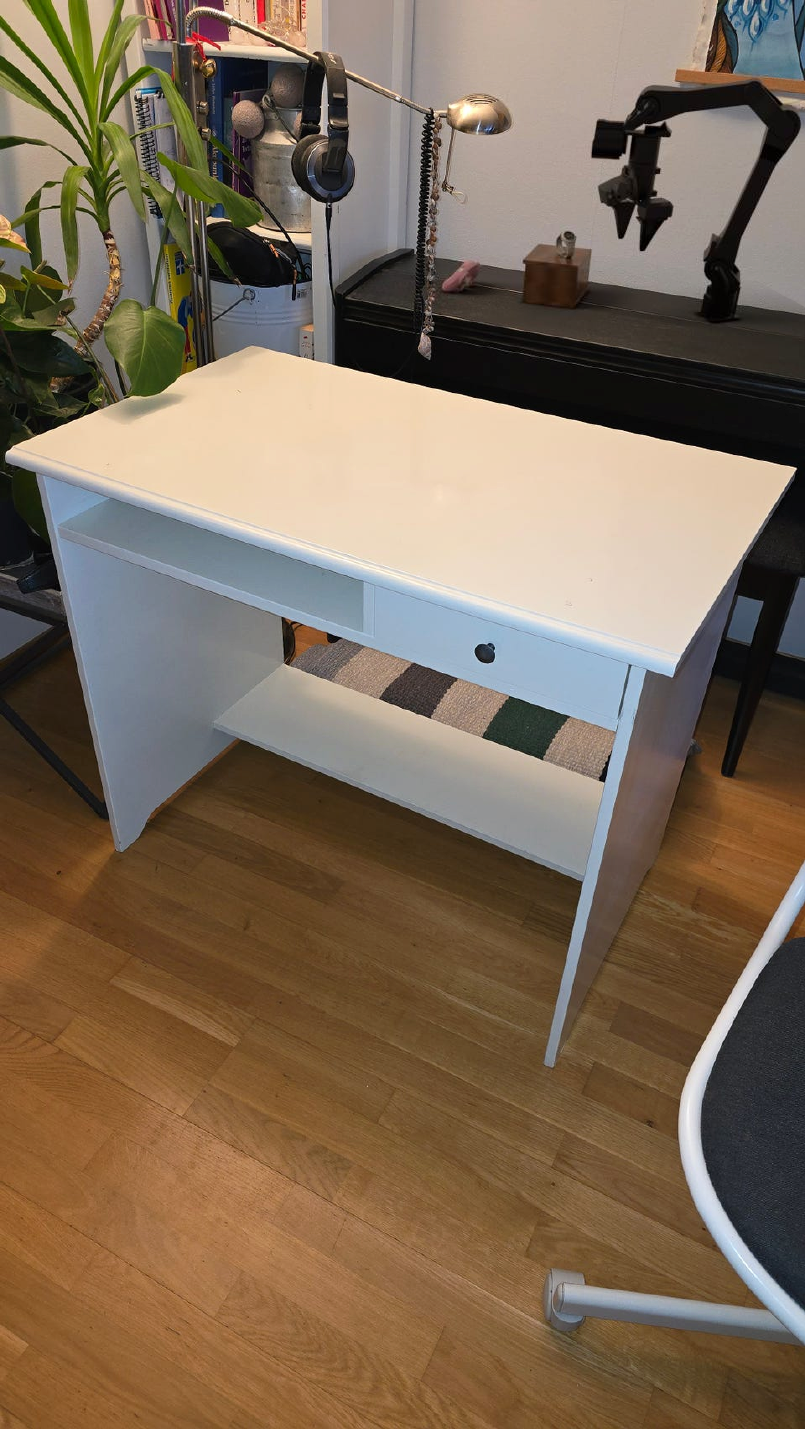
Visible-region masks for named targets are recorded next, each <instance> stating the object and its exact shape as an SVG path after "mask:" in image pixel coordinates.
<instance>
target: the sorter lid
mask: <svg viewBox="0 0 805 1429" xmlns="http://www.w3.org/2000/svg"><path fill="white" fill-rule="evenodd" d="M562 246H563V249H564V250H565V251H566V252H567V251H568V250H567V246H566V245H562ZM592 252H593V249H591V248H582V247H575V249H574V254H573V256H572V257H570V258H564V257H562V256H560V255H559V254H558V252H557V249H556V244H555V245H553V244H546V243H545V244H544V243H537V244H536V245H535V247H534V248H533V249H532V250H530V252H529V253H528V254H527V255H526V256H525V257H524V258H523V259H522V264H523V265H525V264H531V265H540V266H549V267H558V268H567V269H576V270H578V269H579V268H580V266H581V265H582V264H583V263H584V262H585V260H586V259H587V258H588V257H589V255H590V254H591V255H592Z"/></svg>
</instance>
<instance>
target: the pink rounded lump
mask: <svg viewBox="0 0 805 1429" xmlns="http://www.w3.org/2000/svg"><path fill="white" fill-rule="evenodd" d="M482 270H483V265H482V264H480V263H479V262H478V261H475V260H474V259H473V260H470V261H469V260H468V261H465V262H463V263H462V264H461V266H460V267H459V268H457V270H456V271H455V272H454V273H453V274H452V275H451V276H450V277H449V278H447V279H446V280H444V282H443V283H442V287H441V288H442V291H444V292H446V293H449V292H453V291H455V290H456V289H458V290H459V291H463V290H464V289H465V288H466V287H467V288H468V287H470V286H471V285H473V282H474V280H476V278H478V276H479V275H480V274H481V271H482Z"/></svg>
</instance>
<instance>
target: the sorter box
mask: <svg viewBox="0 0 805 1429" xmlns="http://www.w3.org/2000/svg"><path fill="white" fill-rule="evenodd" d="M591 260H592V253H591V254H590V255H589V257H588V258H587V259H586V260H585V262H584V263H583V264H582V265H581V266H580V268H579V269H578V270H576V269H567V268H558V267H549V266H540V265H531V264H524V275H523V276H524V277H523V288H522V290H523V291H522V303H526V304H527V303H528V304H535V305H543V306H544V305H545V306H552V307H560V308H567V309H575V307H576V306H577V305H578V303H579V302H580V301H581V299H582V298H583V297H584V296H585V294H586V293H587V292H588V287H589V277H590V268H591Z"/></svg>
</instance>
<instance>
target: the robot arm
mask: <svg viewBox="0 0 805 1429" xmlns="http://www.w3.org/2000/svg"><path fill="white" fill-rule="evenodd" d="M634 105H635V106H634V109H632V111H631V112H630V113H629V114H627V116H626V118H625V120H609V119H606V118H597V120H596V122H595V129H594V135H593V139H592V141H591V142H592V143H591V152H590V154H591V155H590V158H591V159H595V160H612V161H613V160H615V161H620V159H621V157H623V155H626V154H627V150H628V143H629V136H630V137H631V139H630V147H629V153H628V161H627V164H624V165H623V167H621V173H620V174H619V175H617V176H614V177H612V178H609V179H608V180H605V181H604V182H602V183H600V184H599V185H597V190H598V195H599V196H598V197H599V201H600V204H604V205H605V206H606V207H609V208H611V209H612V210H613V215H614V220H615V226H616V233H617V234H616V235H617V239H618V240H624V238H625V236H626V233H627V231H628V228H629V225H630V222H631V220H632V216H633V214H634V211H635V209H636V212H637V216H635V219H636V220H637V222H638V223H639V226H640V227H639V230H640V231H639V242H638V244H639V246H638V248H639V252H645V251H646V250H647V248H648V246H649V245H650V243H651V242H652V240H653V239H654V237H655V235H656V234H657V232H658V231H659V229H660V228H661V226H662V225H663V224H664V222H667V221H668V219H669V218H672V217H673V212H674V207H675V206H674V205H673V203H672V202H671V201H670V200H668V199H666V198H664V197H657V196H658V190H656V189H655V183H656V176H657V175H661V171H662V168H661V167H660V166H658V162H659V155H660V149H661V141H662V138H667V139H669V138H671V137H672V132H673V130H672V129H671V128H670V127H669V125H668V124H667V120H670V119H672V118H674V117H677V116H679V115H682V114H685V113H692V112H693V113H695V112H700V111H701V112H702V111H709V110H718V109H723V108H724V109H727V108H734V107H740V106H741V107H742V106H748V107H749V108H750V109H751V110H752V111H753V113H754V114H755V115H756V116H757V118H758V119H759V120H760V121H761V123H763V124H764V125H765V128H764V132H763V136H762V140H761V144H760V147H759V151H758V155H757V157H756V160H755V162H754V164H753V166H752V168H751V170H750V173H749V174H748V177H747V179H746V181H745V183H744V185H743V188H742V190H741V192H740V194H739V196H738V198H737V201H736V203H735V205H734V207H733V210H732V211H731V214H730V216H729V218H728V221H727V222H726V224H725V226H724V228H723V229H722V230H721V231H720V234H718V235H717V234H716V233H711V237H710V240H709V243H708V246H707V247H706V248H705V249H704V250H703V257H702V262H703V263H704V264H703V273H704V276H705V278H706V279H707V280H708V281H709V282H710V284H707V285H706V291H705V293H704V294H703V296H702V297H703V298H702V303H701V308H700V309H698V310H697V314H698V315H700V316H702V317H703V318H705V319H707V320H709V321H710V322H712V323H719V322H727V321H734V320H739V319H740V316H739V315H738V314H736V311H737V307H738V303H739V298H740V293H741V290H742V286H741V270H740V269H739V267H738V266H737V265H736V260H737V257H738V253H739V250H740V245H741V241H742V237H743V235H744V233H745V232H746V229H747V228H748V225H749V223H750V221H751V219H752V217H753V215H754V213H755V210H756V208H757V207H758V204H759V202H760V200H761V198H762V196H763V193H764V192H765V190H766V188H767V185H768V183H769V181H770V179H771V176H772V174H773V173H774V171H775V168H776V167H777V165H778V164H779V162H780V161H781V159H782V158H783V157H784V156H785V155H786V154H787V152H788V151H789V149H790V147H791V146H792V144H793V143H794V142H795V140H796V139H797V137H798V136H799V134H800V132H801V128H802V120H801V117H800V114H799V110H798V109H797V108H796V106H794V105H792V104H789V103H783V102H782V101H781V100H780V99H779V98H778V97H777V96H776V95H775V94H774V93H773V92H772V91H770V89H768V88H767V87H766V85H765V84H764V82H763V81H762V80H761V79H760V78H758V77H751V78H749V79H746V80H745V79H744V80H737V81H731V82H729V81H728V82H724V83H715V84H708V85H707V84H706V85H699V86H692V87H679V86H672V85H661V84H660V85H659V84H651V85H648V86H646V87H644V88H643V89H642V90H641V92H640V93H639V95H638V97H637V99H636V102H635V104H634ZM660 122H662V123H661V124H659V125H654V124H657V123H660ZM643 125H644V129H639V128H640V127H641V126H643Z"/></svg>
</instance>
